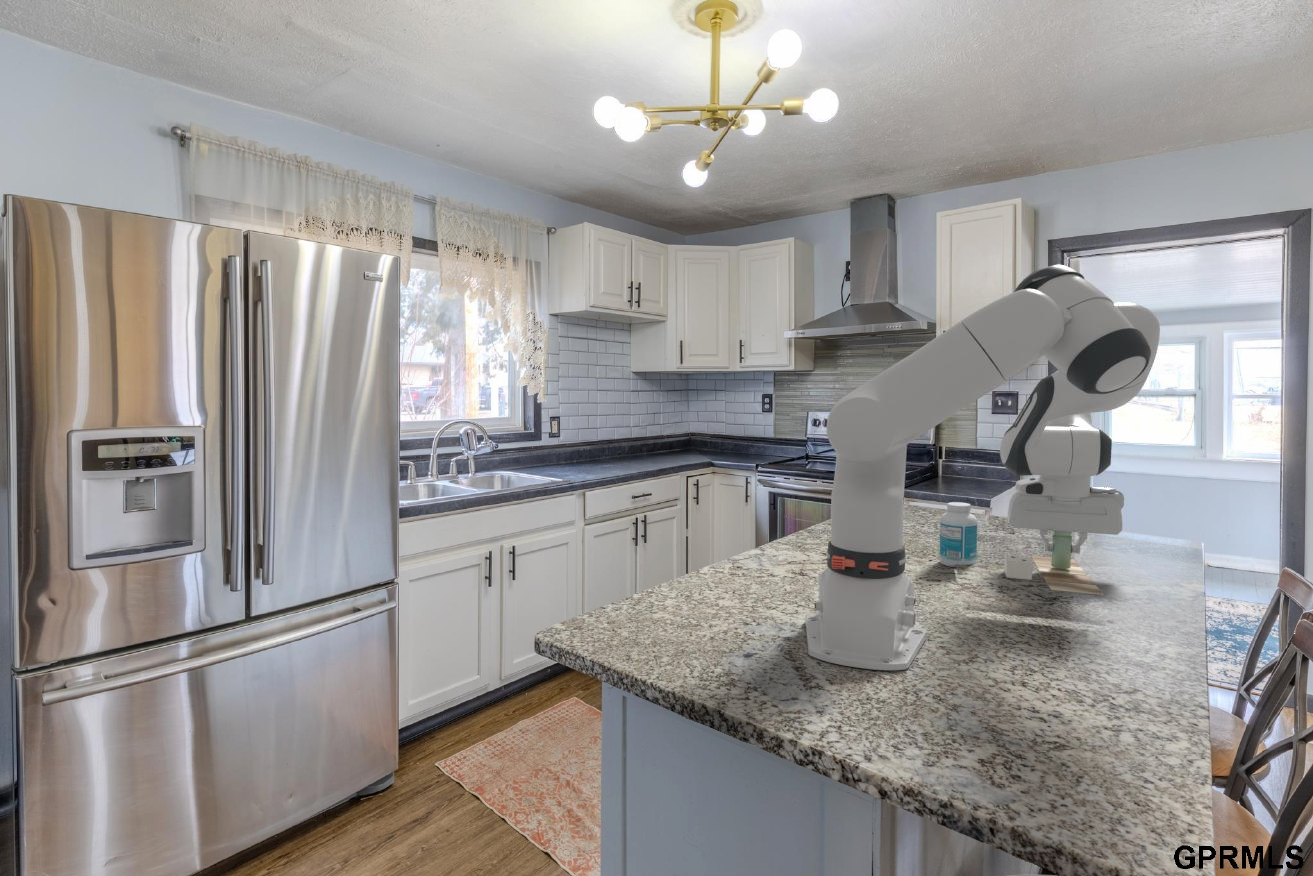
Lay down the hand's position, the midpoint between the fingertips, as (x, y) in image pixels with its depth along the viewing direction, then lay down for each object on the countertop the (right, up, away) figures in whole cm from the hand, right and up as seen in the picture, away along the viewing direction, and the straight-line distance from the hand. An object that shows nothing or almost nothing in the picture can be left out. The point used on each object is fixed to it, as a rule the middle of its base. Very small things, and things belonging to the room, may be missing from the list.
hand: (1061, 551), depth 137 cm
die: (-11, -5, -4) cm, 13 cm away
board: (-1, -5, -2) cm, 6 cm away
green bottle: (0, -3, 0) cm, 3 cm away
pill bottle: (-18, -4, +8) cm, 20 cm away
